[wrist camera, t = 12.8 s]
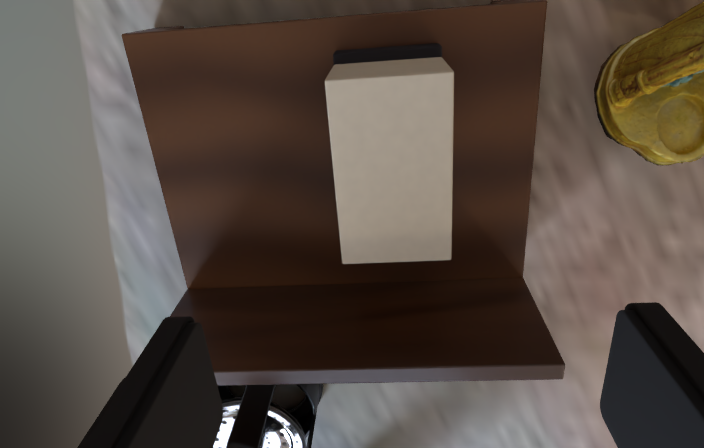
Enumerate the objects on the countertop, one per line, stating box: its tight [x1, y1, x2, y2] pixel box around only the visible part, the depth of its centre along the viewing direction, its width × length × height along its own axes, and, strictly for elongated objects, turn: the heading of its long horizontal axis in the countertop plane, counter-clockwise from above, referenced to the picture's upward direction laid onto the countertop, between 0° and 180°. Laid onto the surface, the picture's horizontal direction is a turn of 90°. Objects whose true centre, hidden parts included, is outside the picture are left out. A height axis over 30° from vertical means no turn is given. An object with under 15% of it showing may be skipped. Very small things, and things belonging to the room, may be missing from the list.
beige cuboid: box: [325, 43, 454, 264], centre depth 25 cm, size 12×5×6 cm, turn 4°
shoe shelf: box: [122, 0, 565, 385], centre depth 27 cm, size 17×22×12 cm
